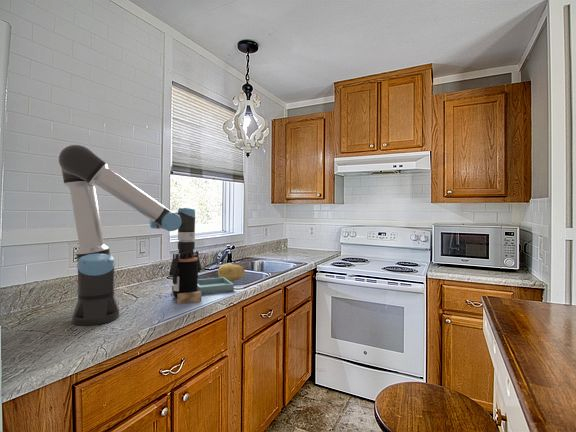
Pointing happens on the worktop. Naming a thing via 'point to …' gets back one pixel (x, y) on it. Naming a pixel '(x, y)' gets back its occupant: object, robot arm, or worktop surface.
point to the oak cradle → (188, 297)
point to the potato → (231, 271)
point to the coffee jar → (187, 275)
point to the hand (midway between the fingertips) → (185, 288)
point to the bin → (214, 285)
